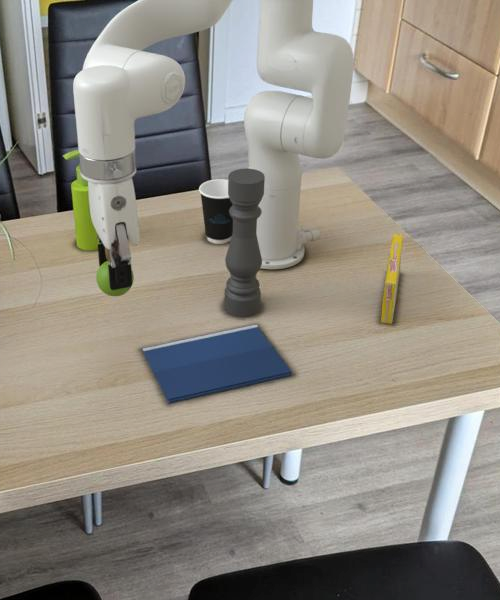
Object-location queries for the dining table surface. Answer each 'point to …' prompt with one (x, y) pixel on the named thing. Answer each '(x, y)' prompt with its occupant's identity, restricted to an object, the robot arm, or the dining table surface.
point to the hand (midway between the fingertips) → (115, 275)
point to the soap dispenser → (82, 210)
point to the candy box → (392, 279)
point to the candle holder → (244, 243)
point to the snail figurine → (104, 276)
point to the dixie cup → (216, 211)
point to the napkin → (214, 363)
